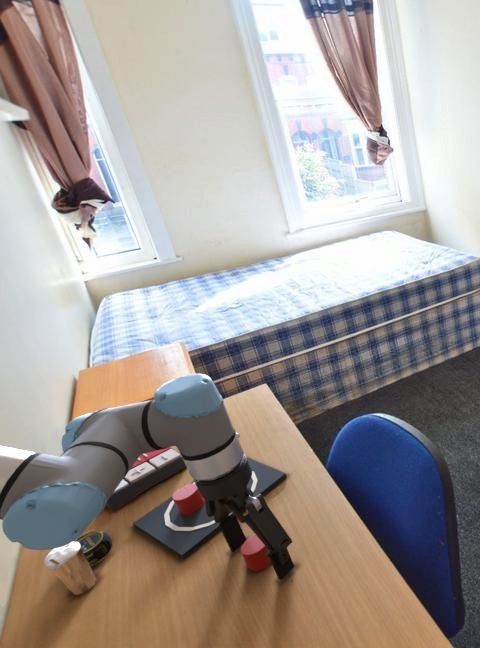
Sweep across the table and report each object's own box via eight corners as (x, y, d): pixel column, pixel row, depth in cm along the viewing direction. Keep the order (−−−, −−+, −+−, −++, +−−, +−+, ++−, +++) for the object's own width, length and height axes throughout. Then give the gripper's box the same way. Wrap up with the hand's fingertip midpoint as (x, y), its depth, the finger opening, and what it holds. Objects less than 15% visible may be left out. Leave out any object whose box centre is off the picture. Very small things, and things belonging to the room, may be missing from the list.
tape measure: (65, 563, 86) (55, 548, 85) (110, 536, 91) (101, 522, 90) (74, 582, 82) (64, 567, 81) (120, 553, 87) (111, 538, 86)
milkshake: (62, 608, 78) (32, 566, 74) (72, 582, 82) (44, 542, 78) (96, 594, 80) (68, 553, 76) (104, 570, 84) (78, 529, 80)
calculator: (183, 453, 107) (105, 495, 96) (189, 468, 109) (113, 511, 97) (162, 439, 113) (85, 478, 101) (167, 454, 115) (92, 493, 103)
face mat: (183, 559, 85) (181, 555, 84) (134, 526, 93) (132, 522, 93) (287, 476, 102) (285, 472, 101) (237, 455, 110) (236, 452, 110)
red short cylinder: (258, 575, 80) (250, 558, 78) (242, 565, 82) (235, 549, 80) (280, 554, 83) (273, 538, 82) (264, 545, 86) (258, 529, 84)
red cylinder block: (187, 518, 92) (179, 503, 91) (175, 511, 94) (167, 496, 93) (209, 502, 96) (202, 487, 94) (197, 495, 98) (190, 481, 96)
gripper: (290, 470, 71) (326, 566, 80) (199, 433, 83) (239, 520, 92) (245, 506, 65) (289, 605, 74) (153, 460, 77) (201, 551, 86)
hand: (262, 558), depth 83 cm, fingers open, 13 cm apart
